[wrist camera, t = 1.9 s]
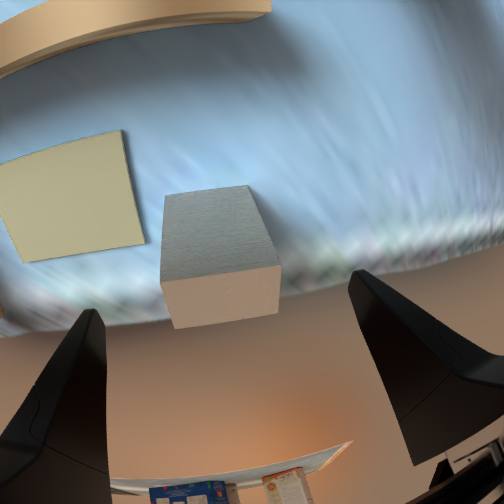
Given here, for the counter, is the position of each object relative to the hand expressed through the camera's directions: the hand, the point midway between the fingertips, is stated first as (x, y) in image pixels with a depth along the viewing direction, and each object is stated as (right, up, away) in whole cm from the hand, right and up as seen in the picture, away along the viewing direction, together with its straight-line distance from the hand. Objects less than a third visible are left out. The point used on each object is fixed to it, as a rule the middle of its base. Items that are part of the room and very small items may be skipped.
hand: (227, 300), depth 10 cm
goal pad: (-9, +4, +3) cm, 10 cm away
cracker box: (+11, -75, +72) cm, 104 cm away
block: (-1, +2, +6) cm, 7 cm away
